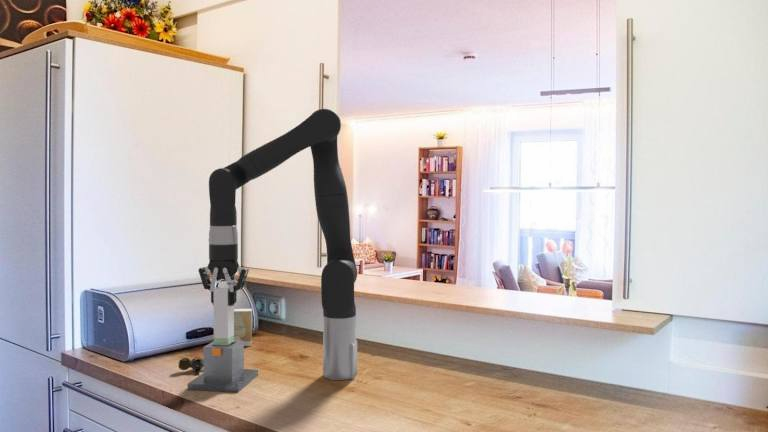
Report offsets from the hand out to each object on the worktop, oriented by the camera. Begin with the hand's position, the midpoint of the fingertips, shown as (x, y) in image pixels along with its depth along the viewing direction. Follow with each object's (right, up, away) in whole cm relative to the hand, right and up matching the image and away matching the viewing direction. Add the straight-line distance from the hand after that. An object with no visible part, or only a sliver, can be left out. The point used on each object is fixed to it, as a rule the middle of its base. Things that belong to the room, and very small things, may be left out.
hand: (223, 304), depth 149 cm
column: (0, -13, 0) cm, 13 cm away
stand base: (0, -21, +1) cm, 21 cm away
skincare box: (-5, -20, +39) cm, 44 cm away
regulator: (-9, -21, +11) cm, 25 cm away
